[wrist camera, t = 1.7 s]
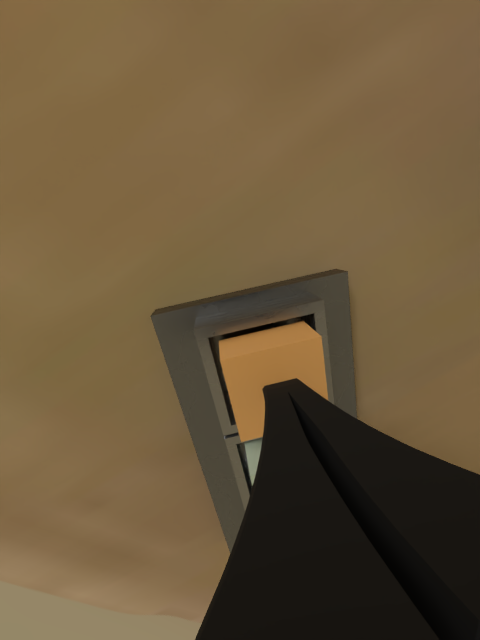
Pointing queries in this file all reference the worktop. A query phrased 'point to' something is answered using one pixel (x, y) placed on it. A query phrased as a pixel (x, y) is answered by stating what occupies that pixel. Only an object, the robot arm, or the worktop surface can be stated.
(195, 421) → the panel
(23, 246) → the worktop surface
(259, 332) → the button orange
